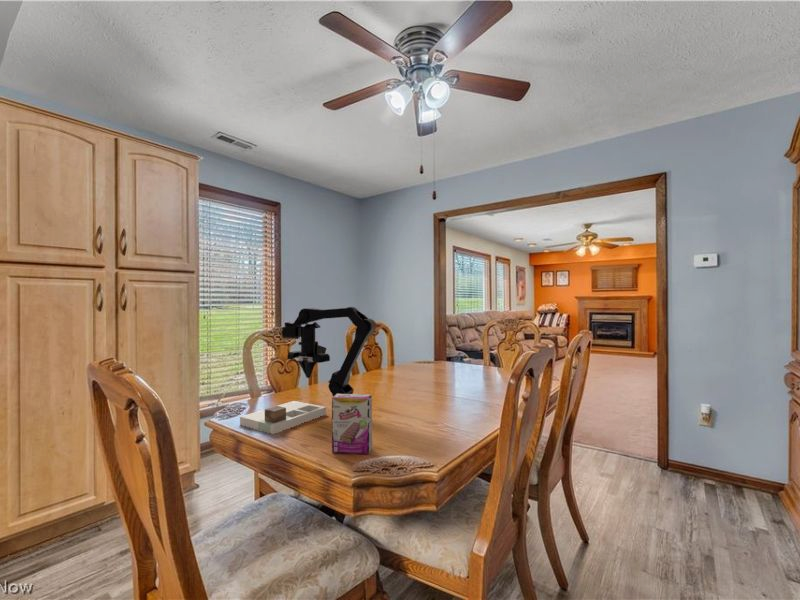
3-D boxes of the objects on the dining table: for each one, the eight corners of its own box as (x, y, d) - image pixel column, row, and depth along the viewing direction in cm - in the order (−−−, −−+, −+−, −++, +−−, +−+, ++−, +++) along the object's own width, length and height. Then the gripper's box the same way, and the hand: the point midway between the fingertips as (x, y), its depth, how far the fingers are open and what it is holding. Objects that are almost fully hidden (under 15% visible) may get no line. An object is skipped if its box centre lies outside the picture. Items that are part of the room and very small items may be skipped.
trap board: (326, 414, 148) (326, 407, 148) (273, 434, 127) (273, 425, 127) (294, 407, 158) (294, 400, 158) (239, 425, 137) (239, 416, 137)
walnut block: (286, 419, 133) (285, 407, 133) (274, 423, 129) (274, 411, 129) (276, 416, 136) (276, 405, 136) (264, 420, 132) (264, 409, 132)
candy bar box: (331, 454, 110) (331, 397, 110) (336, 447, 115) (335, 393, 115) (369, 455, 109) (369, 398, 109) (372, 448, 114) (372, 393, 114)
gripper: (339, 338, 156) (339, 376, 156) (306, 336, 166) (307, 372, 166) (319, 341, 147) (319, 382, 147) (286, 338, 157) (286, 376, 157)
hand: (308, 377), depth 154 cm, fingers closed
